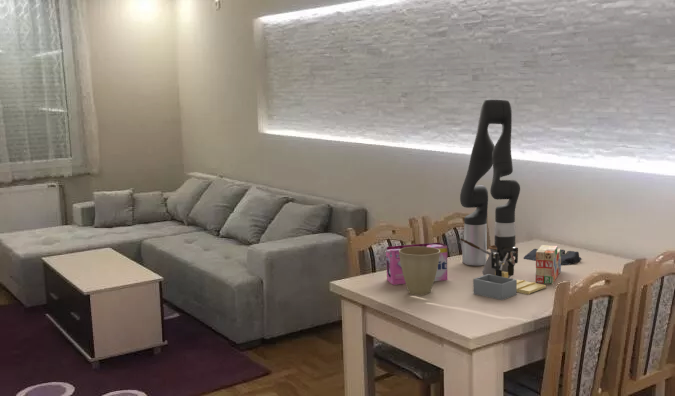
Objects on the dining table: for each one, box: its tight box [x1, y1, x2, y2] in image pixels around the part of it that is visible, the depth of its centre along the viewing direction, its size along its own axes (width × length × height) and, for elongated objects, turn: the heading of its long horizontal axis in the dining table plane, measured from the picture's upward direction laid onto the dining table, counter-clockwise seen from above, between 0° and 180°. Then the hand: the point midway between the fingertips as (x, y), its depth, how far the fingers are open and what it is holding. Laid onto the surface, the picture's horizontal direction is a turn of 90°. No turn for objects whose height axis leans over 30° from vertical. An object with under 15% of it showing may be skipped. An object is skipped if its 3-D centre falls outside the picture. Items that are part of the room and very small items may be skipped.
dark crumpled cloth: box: [522, 248, 582, 266], centre depth 306 cm, size 15×22×5 cm
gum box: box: [385, 242, 448, 286], centre depth 278 cm, size 24×8×14 cm, turn 104°
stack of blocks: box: [535, 244, 562, 284], centre depth 277 cm, size 21×6×12 cm, turn 155°
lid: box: [495, 271, 547, 295], centre depth 262 cm, size 17×11×5 cm, turn 43°
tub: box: [472, 274, 518, 301], centre depth 254 cm, size 12×9×6 cm
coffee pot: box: [458, 238, 512, 278], centre depth 278 cm, size 21×12×15 cm, turn 59°
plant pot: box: [399, 246, 440, 296], centre depth 259 cm, size 15×15×16 cm
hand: (504, 277), depth 266 cm, fingers open, 7 cm apart
